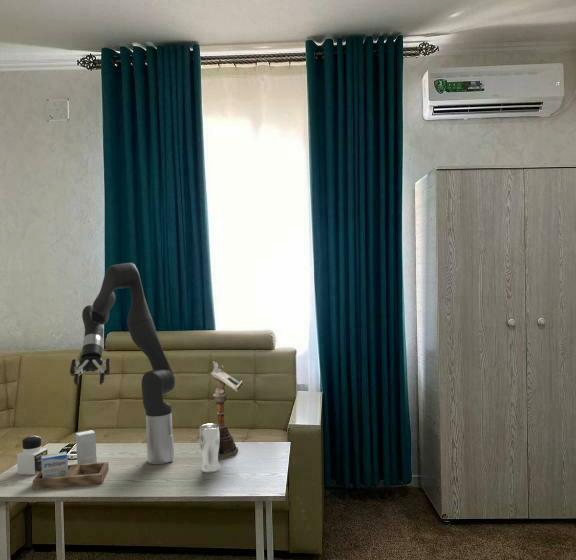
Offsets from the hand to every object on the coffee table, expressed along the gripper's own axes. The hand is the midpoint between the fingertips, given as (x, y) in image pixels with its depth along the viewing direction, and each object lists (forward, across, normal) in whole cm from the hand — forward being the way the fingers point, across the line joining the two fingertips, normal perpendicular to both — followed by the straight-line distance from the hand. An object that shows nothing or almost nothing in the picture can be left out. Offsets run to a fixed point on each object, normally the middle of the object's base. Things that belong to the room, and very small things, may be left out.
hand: (88, 383), depth 207 cm
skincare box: (+27, +1, +11) cm, 29 cm away
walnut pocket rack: (+36, -2, +2) cm, 36 cm away
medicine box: (+36, -8, +2) cm, 36 cm away
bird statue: (+28, +52, +7) cm, 59 cm away
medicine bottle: (+28, -17, +12) cm, 35 cm away
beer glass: (+38, +43, -4) cm, 58 cm away
